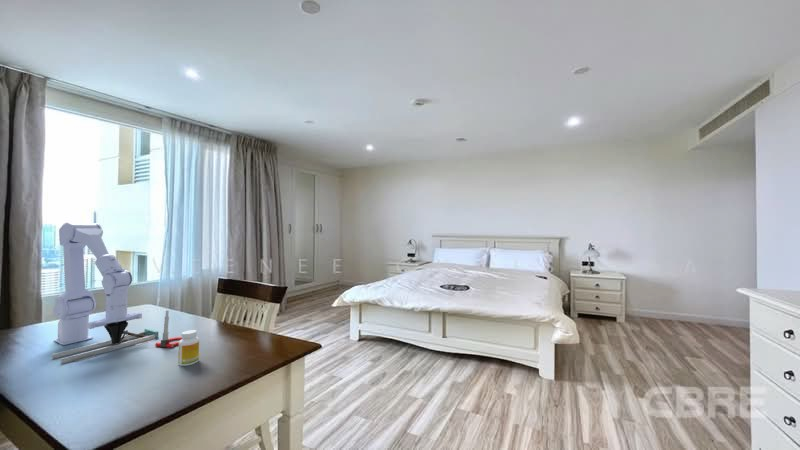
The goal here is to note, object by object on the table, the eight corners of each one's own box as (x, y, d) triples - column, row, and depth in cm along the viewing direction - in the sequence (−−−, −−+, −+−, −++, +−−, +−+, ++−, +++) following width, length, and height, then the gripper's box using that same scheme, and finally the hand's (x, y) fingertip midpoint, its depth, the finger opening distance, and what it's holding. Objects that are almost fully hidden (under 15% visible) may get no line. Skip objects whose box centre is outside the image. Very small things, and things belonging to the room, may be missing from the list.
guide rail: (51, 358, 99) (51, 350, 99) (147, 334, 122) (147, 328, 122) (63, 365, 94) (64, 357, 94) (160, 338, 118) (160, 332, 118)
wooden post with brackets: (116, 341, 112) (123, 328, 113) (141, 345, 116) (148, 334, 117) (115, 342, 111) (122, 330, 112) (141, 347, 115) (147, 335, 116)
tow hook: (175, 339, 119) (152, 347, 109) (177, 305, 119) (155, 310, 110) (194, 340, 117) (173, 348, 108) (196, 306, 118) (175, 311, 109)
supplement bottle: (202, 360, 99) (203, 330, 99) (186, 367, 94) (187, 335, 94) (190, 358, 101) (191, 328, 101) (174, 364, 96) (174, 333, 96)
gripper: (94, 311, 102) (93, 352, 102) (146, 302, 115) (145, 338, 115) (85, 308, 105) (84, 348, 105) (136, 300, 118) (135, 335, 118)
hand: (115, 343), depth 110 cm, fingers closed
